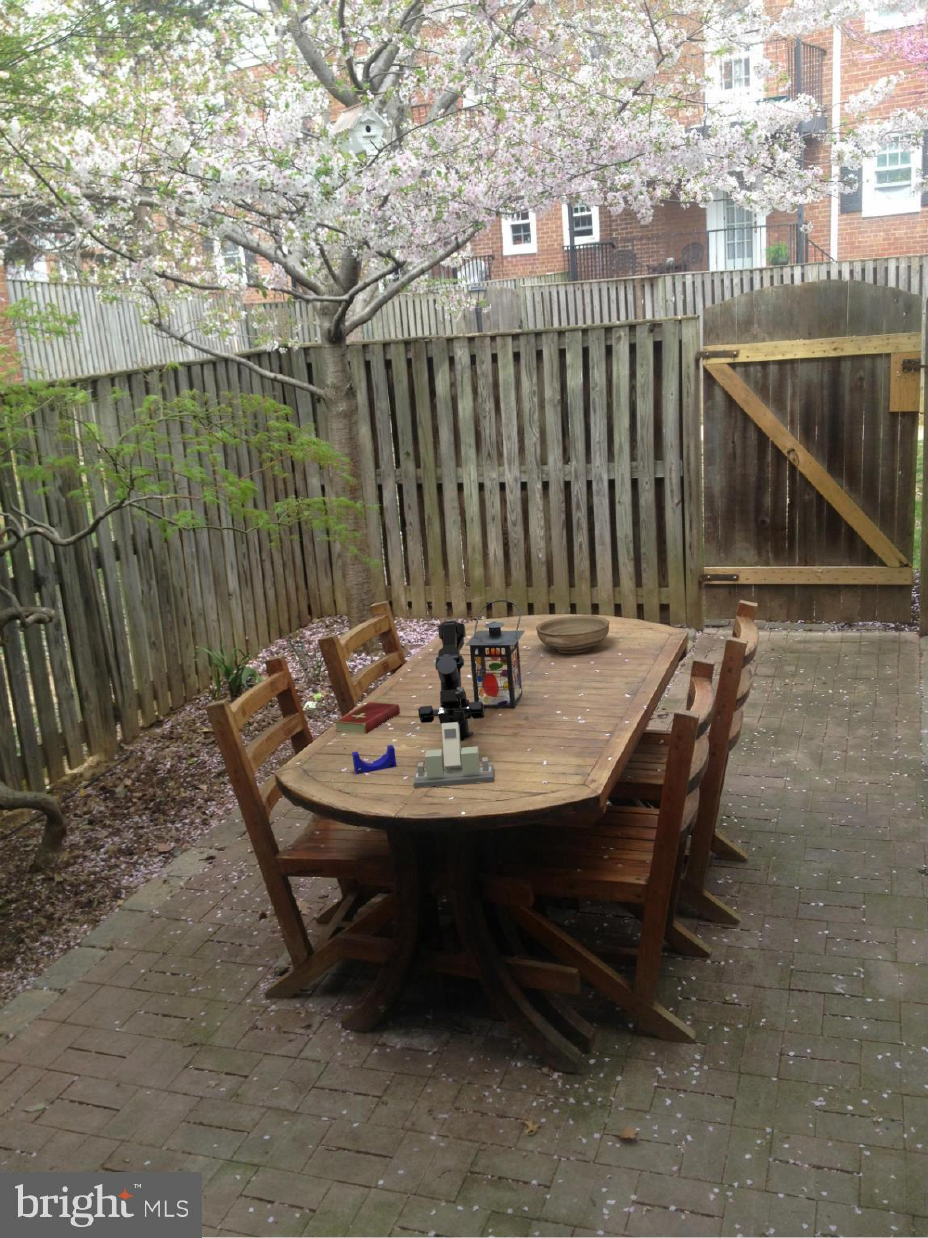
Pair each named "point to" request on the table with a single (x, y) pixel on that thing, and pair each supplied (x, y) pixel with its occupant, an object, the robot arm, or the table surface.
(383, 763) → the blue cradle stand
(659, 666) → the table surface
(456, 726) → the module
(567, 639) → the ceramic bowl
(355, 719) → the hardcover book
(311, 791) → the table surface
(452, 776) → the rail board
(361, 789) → the table surface
